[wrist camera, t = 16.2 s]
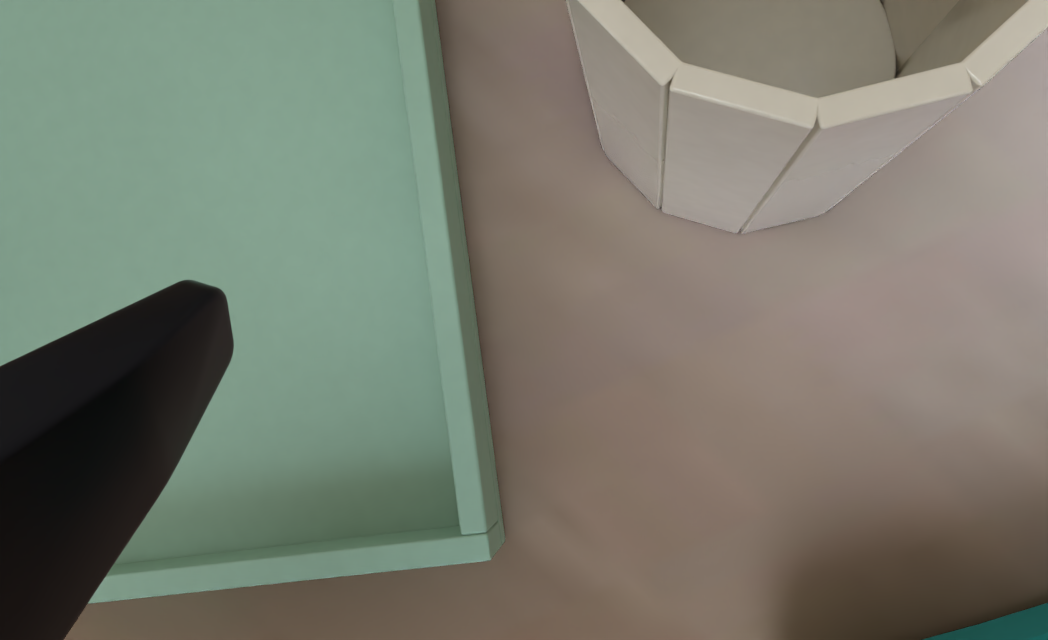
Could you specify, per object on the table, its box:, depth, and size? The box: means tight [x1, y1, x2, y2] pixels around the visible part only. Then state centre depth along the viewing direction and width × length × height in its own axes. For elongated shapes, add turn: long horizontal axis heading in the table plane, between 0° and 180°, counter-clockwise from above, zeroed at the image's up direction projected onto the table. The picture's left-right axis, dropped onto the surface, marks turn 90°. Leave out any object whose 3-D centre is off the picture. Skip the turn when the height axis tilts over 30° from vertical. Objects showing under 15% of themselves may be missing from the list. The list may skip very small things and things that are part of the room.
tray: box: [0, 0, 505, 604], centre depth 23 cm, size 19×14×2 cm
